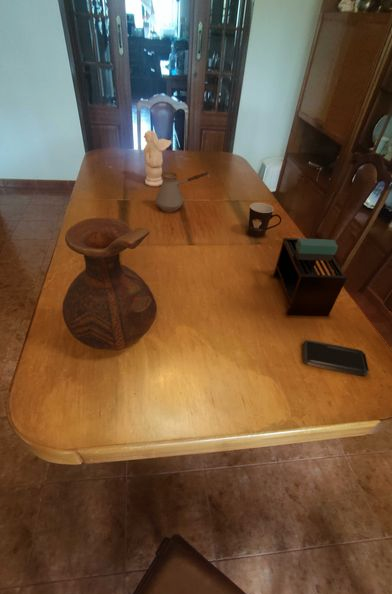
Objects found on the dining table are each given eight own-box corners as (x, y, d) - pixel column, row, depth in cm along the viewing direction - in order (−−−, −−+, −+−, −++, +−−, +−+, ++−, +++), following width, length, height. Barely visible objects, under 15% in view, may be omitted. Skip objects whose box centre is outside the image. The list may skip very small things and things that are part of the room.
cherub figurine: (145, 178, 154) (143, 124, 138) (170, 179, 156) (171, 126, 140) (144, 187, 146) (141, 131, 130) (171, 189, 147) (171, 133, 131)
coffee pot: (153, 212, 129) (152, 172, 118) (157, 201, 137) (156, 162, 126) (205, 217, 129) (209, 177, 118) (206, 205, 137) (210, 167, 126)
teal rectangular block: (327, 254, 89) (333, 239, 86) (331, 261, 87) (338, 246, 83) (293, 253, 88) (298, 238, 85) (296, 260, 86) (301, 244, 83)
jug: (67, 368, 71) (24, 245, 50) (70, 307, 85) (37, 191, 64) (163, 355, 76) (162, 238, 54) (151, 300, 90) (146, 189, 68)
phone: (369, 374, 75) (305, 361, 76) (367, 377, 75) (303, 364, 77) (364, 350, 80) (304, 338, 81) (362, 353, 81) (303, 341, 82)
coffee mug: (240, 232, 122) (245, 206, 115) (254, 226, 127) (260, 200, 119) (263, 244, 117) (270, 218, 110) (277, 238, 121) (285, 212, 114)
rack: (308, 276, 104) (323, 239, 95) (328, 316, 90) (347, 278, 81) (273, 275, 103) (283, 237, 94) (287, 315, 89) (301, 276, 80)
